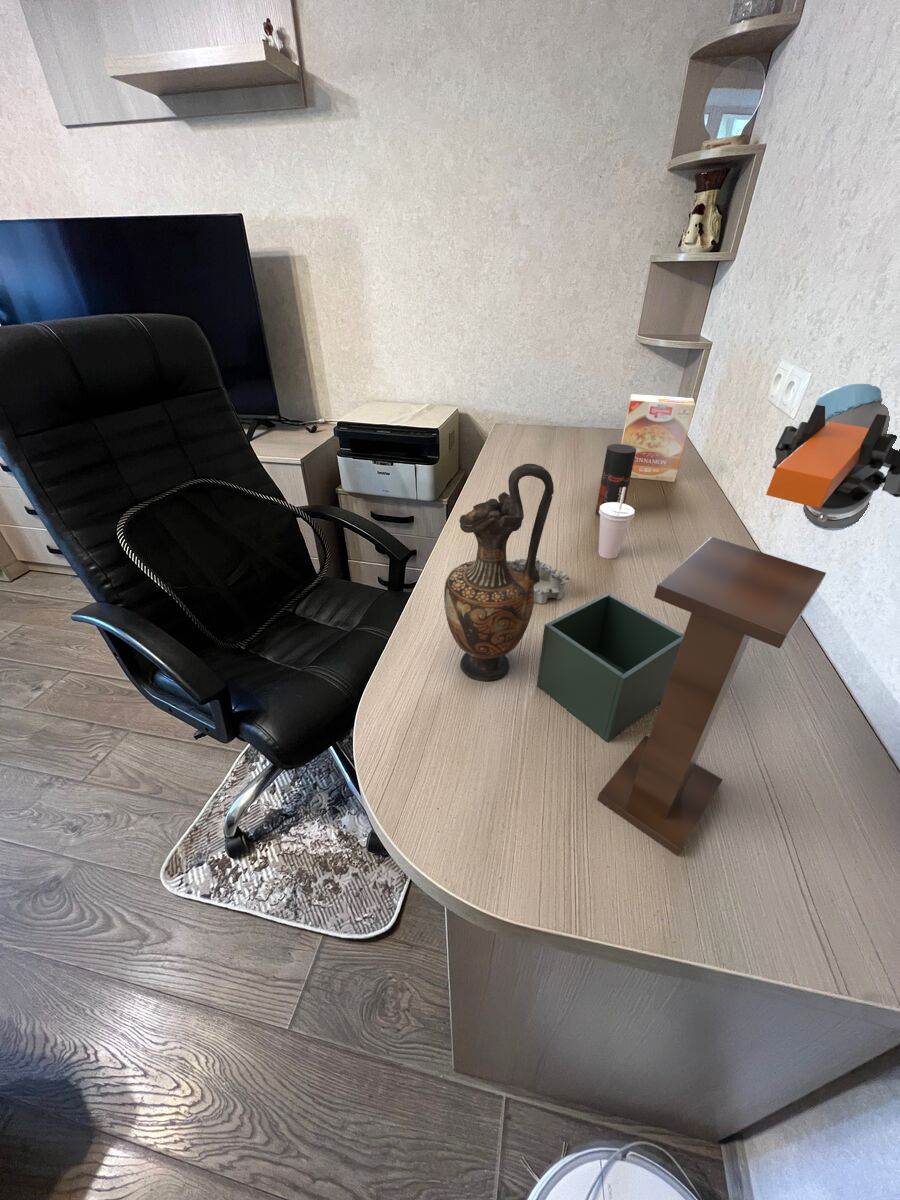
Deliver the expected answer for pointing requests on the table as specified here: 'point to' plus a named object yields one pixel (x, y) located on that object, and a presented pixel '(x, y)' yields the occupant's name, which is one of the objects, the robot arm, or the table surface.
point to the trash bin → (607, 663)
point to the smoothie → (613, 526)
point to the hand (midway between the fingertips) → (842, 424)
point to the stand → (704, 679)
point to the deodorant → (616, 474)
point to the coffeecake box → (657, 434)
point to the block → (818, 465)
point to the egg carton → (546, 581)
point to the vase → (495, 581)
